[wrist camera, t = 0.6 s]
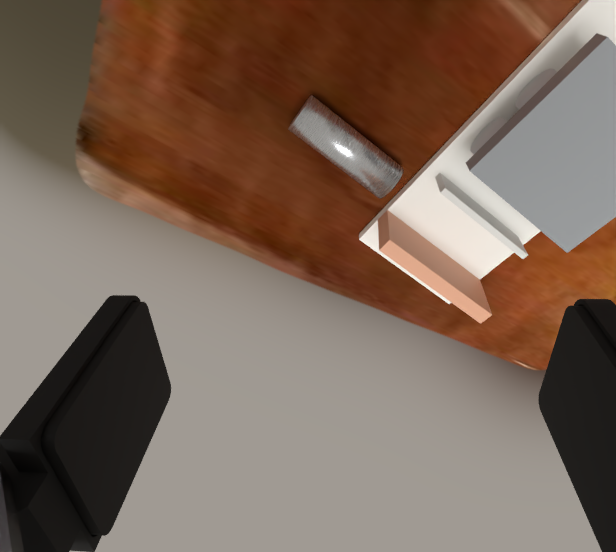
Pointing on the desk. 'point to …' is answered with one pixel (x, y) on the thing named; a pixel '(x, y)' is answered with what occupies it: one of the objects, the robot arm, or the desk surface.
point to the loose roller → (346, 147)
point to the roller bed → (475, 183)
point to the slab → (560, 150)
